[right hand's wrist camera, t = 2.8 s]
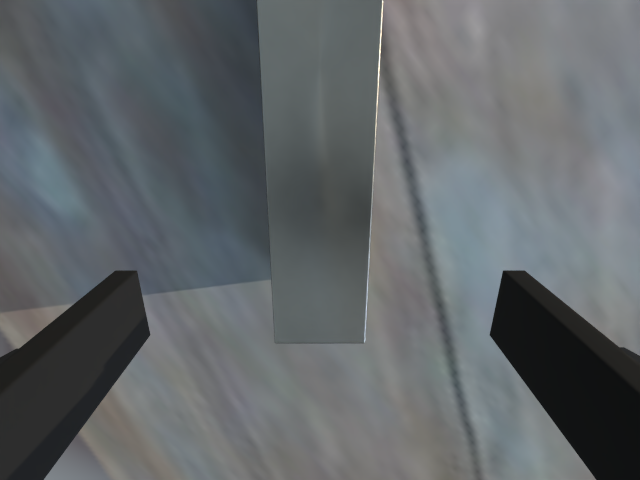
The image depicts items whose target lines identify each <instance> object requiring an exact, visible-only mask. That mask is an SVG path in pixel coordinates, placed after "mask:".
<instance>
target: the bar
mask: <svg viewBox="0 0 640 480" xmlns="http://www.w3.org/2000/svg"><path fill="white" fill-rule="evenodd" d="M256 3H257V21H258V40H259V59H260V77H261V96H262V114H263V133H264V152H265V170H266V189H267V207H268V226H269V245H270V263H271V282H272V301H273V319H274V338H275V343H365V336H366V317H367V298H368V280H369V261H370V242H371V223H372V205H373V186H374V167H375V149H376V130H377V111H378V92H379V74H380V55H381V36H382V18H383V0H256Z"/></svg>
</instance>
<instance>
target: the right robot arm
mask: <svg viewBox="0 0 640 480" xmlns="http://www.w3.org/2000/svg"><path fill="white" fill-rule="evenodd" d="M149 336H150V331H149V327H148V322H147V317H146V312H145V307H144V303H143V298H142V293H141V288H140V283H139V279H138V274H137V271H114V272H113V273H112V274H111V275H109V276H108V277H107V278H106V279H105V280H103V281H102V282H101V283H100V284H98V285H97V286H96V287H95V288H93V289H92V290H91V291H90V292H89V293H87V294H86V295H85V296H84V297H82V298H81V299H80V300H79V301H77V302H76V303H75V304H74V305H72V306H71V307H70V308H69V309H68V310H66V311H65V312H64V313H63V314H61V315H60V316H59V317H58V318H56V319H55V320H54V321H53V322H52V323H50V324H49V325H48V326H47V327H45V328H44V329H43V330H42V331H40V332H39V333H38V334H37V335H35V336H34V337H33V338H32V339H31V340H29V341H28V342H27V343H26V344H24V345H23V346H22V347H21V348H19V349H15V350H13V351H11V352H10V353H8V354H6V355H4V356H2V357H0V480H44V478H45V477H46V475H47V474H48V473H49V472H50V470H51V469H52V467H53V466H54V465H55V463H56V462H57V461H58V459H59V458H60V457H61V455H62V454H63V453H64V451H65V450H66V448H67V447H68V446H69V444H70V443H71V442H72V440H73V439H74V438H75V436H76V435H77V434H78V432H79V431H80V430H81V428H82V427H83V425H84V424H85V423H86V421H87V420H88V419H89V417H90V416H91V415H92V413H93V412H94V411H95V409H96V408H97V406H98V405H99V404H100V402H101V401H102V400H103V398H104V397H105V396H106V394H107V393H108V392H109V390H110V389H111V387H112V386H113V385H114V383H115V382H116V381H117V379H118V378H119V377H120V375H121V374H122V373H123V371H124V370H125V368H126V367H127V366H128V364H129V363H130V362H131V360H132V359H133V358H134V356H135V355H136V354H137V352H138V351H139V350H140V348H141V347H142V345H143V344H144V343H145V341H146V340H147V339H148V337H149ZM490 336H491V337H492V339H493V340H494V341H495V343H496V344H497V345H498V347H499V348H500V350H501V351H502V352H503V354H504V355H505V356H506V358H507V359H508V360H509V362H510V363H511V364H512V366H513V367H514V368H515V370H516V371H517V373H518V374H519V375H520V377H521V378H522V379H523V381H524V382H525V383H526V385H527V386H528V387H529V389H530V390H531V392H532V393H533V394H534V396H535V397H536V398H537V400H538V401H539V402H540V404H541V405H542V406H543V408H544V409H545V411H546V412H547V413H548V415H549V416H550V417H551V419H552V420H553V421H554V423H555V424H556V425H557V427H558V428H559V430H560V431H561V432H562V434H563V435H564V436H565V438H566V439H567V440H568V442H569V443H570V444H571V446H572V447H573V448H574V450H575V451H576V453H577V454H578V455H579V457H580V458H581V459H582V461H583V462H584V463H585V465H586V466H587V467H588V469H589V470H590V472H591V473H592V474H593V476H594V477H595V478H596V480H640V356H639V355H637V354H635V353H633V352H631V351H630V350H628V349H626V348H619V347H618V346H617V345H616V344H614V343H613V342H612V341H611V340H609V339H608V338H607V337H606V336H605V335H603V334H602V333H601V332H600V331H598V330H597V329H596V328H595V327H593V326H592V325H591V324H590V323H588V322H587V321H586V320H585V319H584V318H582V317H581V316H580V315H579V314H577V313H576V312H575V311H574V310H572V309H571V308H570V307H569V306H568V305H566V304H565V303H564V302H563V301H561V300H560V299H559V298H558V297H556V296H555V295H554V294H553V293H551V292H550V291H549V290H548V289H547V288H545V287H544V286H543V285H542V284H540V283H539V282H538V281H537V280H535V279H534V278H533V277H532V276H531V275H529V274H528V273H527V272H526V271H503V274H502V279H501V283H500V288H499V293H498V298H497V303H496V307H495V312H494V317H493V322H492V327H491V331H490Z"/></svg>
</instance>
